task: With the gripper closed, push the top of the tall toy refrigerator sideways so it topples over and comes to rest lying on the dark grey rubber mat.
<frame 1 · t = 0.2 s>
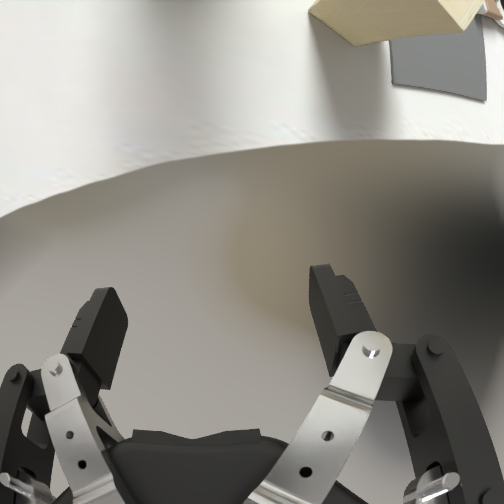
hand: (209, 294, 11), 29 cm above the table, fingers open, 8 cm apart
toy refrigerator: (346, 12, 26), on the table
mat: (441, 32, 26), on the table
record player: (497, 1, 19), on the table, touching mat
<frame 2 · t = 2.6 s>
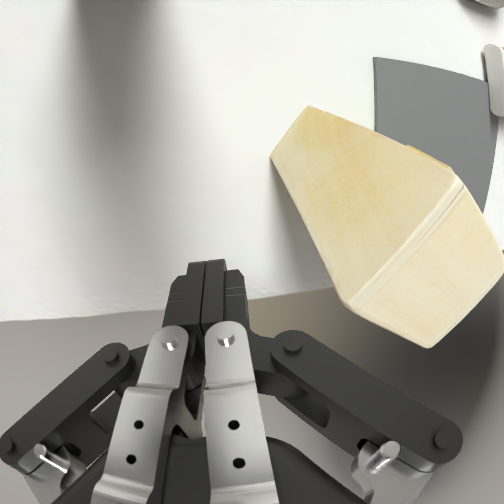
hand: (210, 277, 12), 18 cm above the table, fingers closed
toy refrigerator: (320, 148, 28), on the table
mat: (443, 150, 28), on the table
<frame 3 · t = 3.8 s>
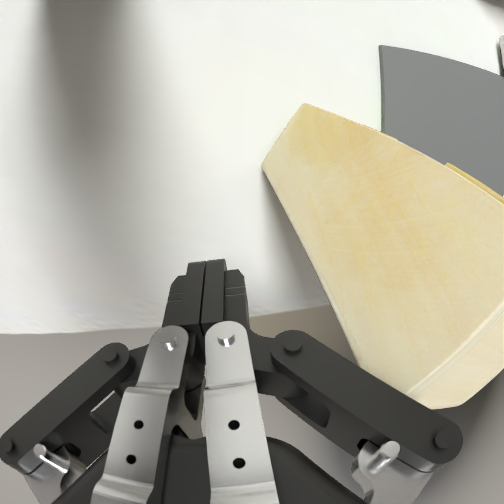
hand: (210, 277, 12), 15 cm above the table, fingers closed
toy refrigerator: (320, 153, 24), on the table, touching hand
mat: (457, 152, 24), on the table
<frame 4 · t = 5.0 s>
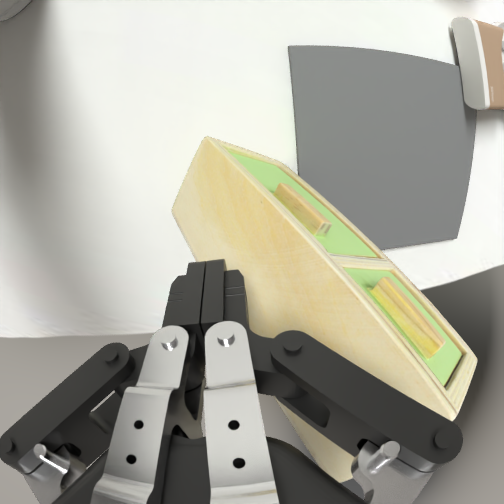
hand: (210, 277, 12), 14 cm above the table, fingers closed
toy refrigerator: (230, 178, 23), point 2 cm above the table
mat: (398, 156, 24), on the table
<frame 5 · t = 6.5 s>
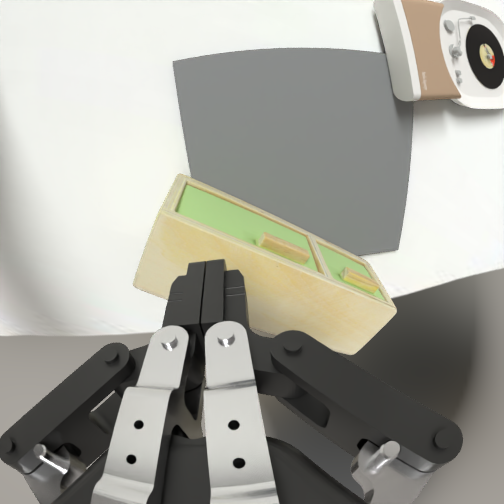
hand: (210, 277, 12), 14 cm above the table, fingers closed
toy refrigerator: (154, 218, 21), point 4 cm above the table, touching mat
mat: (309, 162, 24), on the table
record player: (461, 52, 17), on the table, touching mat
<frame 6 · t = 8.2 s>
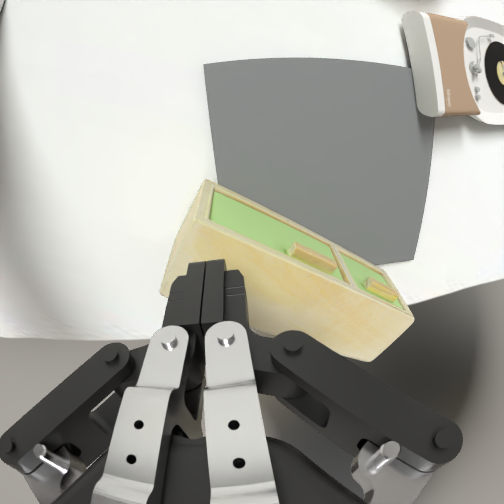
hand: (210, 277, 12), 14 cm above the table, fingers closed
toy refrigerator: (181, 224, 21), point 4 cm above the table, touching mat
mat: (334, 173, 24), on the table
record player: (479, 68, 18), on the table, touching mat
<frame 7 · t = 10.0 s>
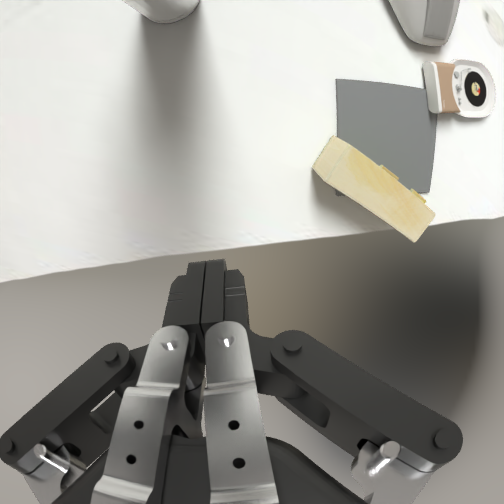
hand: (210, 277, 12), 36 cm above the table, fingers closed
toy refrigerator: (329, 153, 41), point 4 cm above the table, touching mat
mat: (390, 139, 44), on the table
record player: (461, 87, 37), on the table, touching mat
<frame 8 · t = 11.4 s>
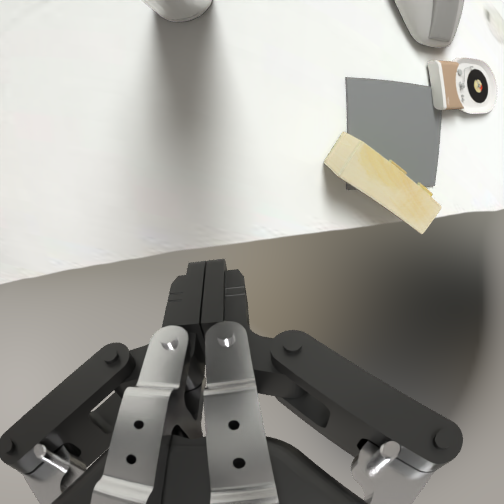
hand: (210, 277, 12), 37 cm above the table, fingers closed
toy refrigerator: (340, 149, 42), point 4 cm above the table, touching mat
mat: (397, 135, 44), on the table
record player: (464, 84, 38), on the table, touching mat
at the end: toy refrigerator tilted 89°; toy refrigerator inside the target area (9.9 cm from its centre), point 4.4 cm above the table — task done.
